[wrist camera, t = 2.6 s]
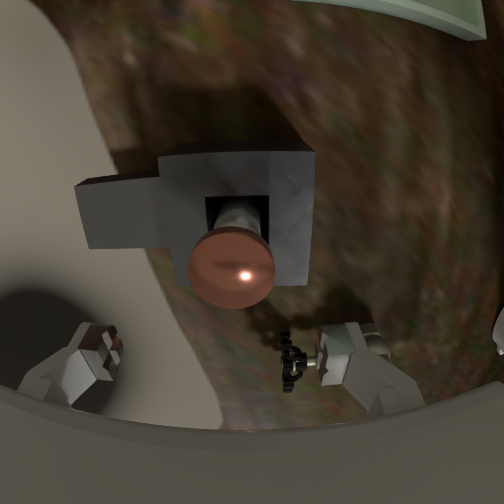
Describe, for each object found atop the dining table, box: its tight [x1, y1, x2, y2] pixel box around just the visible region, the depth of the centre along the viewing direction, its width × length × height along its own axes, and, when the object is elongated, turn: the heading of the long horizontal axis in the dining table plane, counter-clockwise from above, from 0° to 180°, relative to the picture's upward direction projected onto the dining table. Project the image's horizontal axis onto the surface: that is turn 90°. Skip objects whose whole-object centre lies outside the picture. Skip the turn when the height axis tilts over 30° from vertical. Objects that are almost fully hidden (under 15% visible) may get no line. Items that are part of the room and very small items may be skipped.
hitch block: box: [74, 141, 316, 286], centre depth 22 cm, size 19×10×5 cm, turn 91°
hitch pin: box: [187, 195, 275, 309], centre depth 20 cm, size 4×4×11 cm
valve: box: [280, 323, 393, 393], centre depth 29 cm, size 7×7×12 cm
